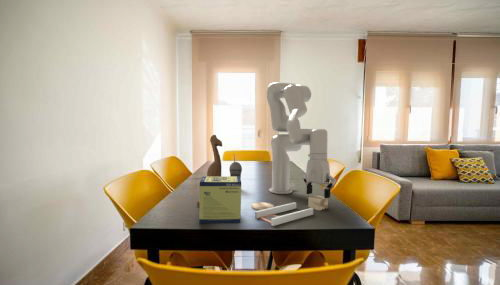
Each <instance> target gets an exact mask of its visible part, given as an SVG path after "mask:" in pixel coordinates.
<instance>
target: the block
mask: <svg viewBox="0 0 500 285" xmlns="http://www.w3.org/2000/svg"><path fill="white" fill-rule="evenodd" d="M307 204H308V205H307V207H308V208H313V210H317V211H323V210H326V209H328V206H329V198H324V196H321V195H318V194H317V195H311V196H309V197H308V202H307ZM325 208H326V209H325ZM322 209H323V210H322Z"/></svg>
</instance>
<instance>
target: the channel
mask: <svg viewBox="0 0 500 285" xmlns="http://www.w3.org/2000/svg"><path fill="white" fill-rule="evenodd" d="M296 209H297V202H295V201H294V202H290V203H285V204H282V205H281V204H280V205H277V206H274V207H272V208H268V209H264V210H255V211H254V212H255V213H254V214H255V219H260V218H259V217H263V216H267V215H271V214H274V215H276V214H280V213H283V212H284V213H285V212H287V211H292V210H296ZM313 215H314V209H313V208H310V207H308V208H306V209H302V210H299V211H298V210H297V211H294V212H291V213H287V214H283V215H278V216H279V217H275V218H271V223H270V224H271V225H270V226H272V227H275V226H278V225H281V224H282V225H283V224H286V223H288V222H291V221H296V220H299V219H302V218H305V217H309V216H313Z"/></svg>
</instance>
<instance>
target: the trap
mask: <svg viewBox="0 0 500 285" xmlns="http://www.w3.org/2000/svg"><path fill="white" fill-rule="evenodd" d="M279 216H280V215H276V214H271V215H267V216H263V217H259V218H258V219H260V220H263V221H265V222H266V223H269V224H271V218H275V217H279Z"/></svg>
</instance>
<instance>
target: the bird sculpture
mask: <svg viewBox="0 0 500 285" xmlns="http://www.w3.org/2000/svg"><path fill="white" fill-rule="evenodd" d="M209 142H210V145H211V148H212V154H213V161H212V162H211V164H209V166H208V167H207V170H206V171H207V172H206V176H208V177H222V159H221V156H220V152H219V150H218V147H223V142H222V140H221V139H219V138H218V137H217V135H216V134H213V135H212V136H210V138H209ZM196 205H197V207H199V200H197V201H196Z"/></svg>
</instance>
